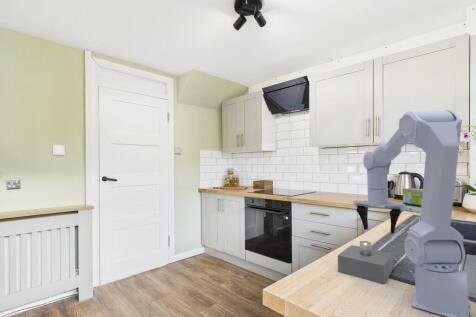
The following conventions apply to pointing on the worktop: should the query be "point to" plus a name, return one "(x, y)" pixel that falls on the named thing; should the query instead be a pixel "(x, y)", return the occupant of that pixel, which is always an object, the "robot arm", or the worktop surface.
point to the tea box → (412, 199)
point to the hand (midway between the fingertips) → (378, 231)
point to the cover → (366, 262)
